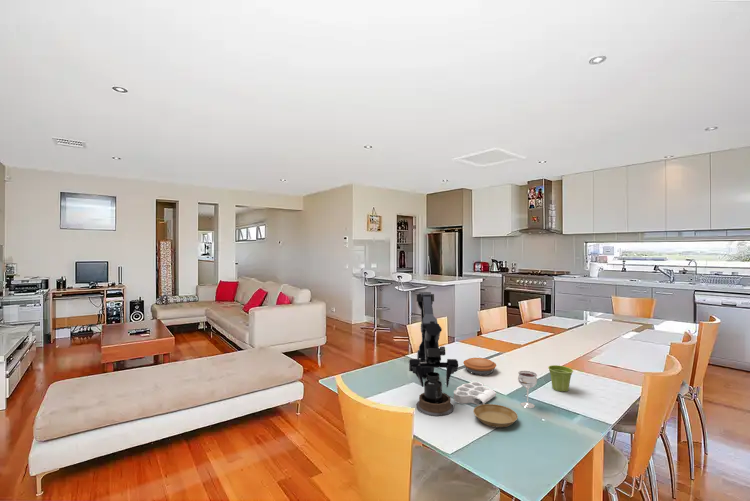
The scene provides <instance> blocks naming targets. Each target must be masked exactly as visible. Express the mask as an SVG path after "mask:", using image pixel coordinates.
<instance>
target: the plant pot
mask: <svg viewBox="0 0 750 501" xmlns="http://www.w3.org/2000/svg"><path fill="white" fill-rule="evenodd" d="M547 367H548V368H547V369H548V371H549V374H550V381H551V388H552V389H553V390H555V391H557V392H569V390H570V383H571V377H572V375H573V373H574V370H573V369H572V368H570V367H567V366H564V365H558V364H557V365H556V364H555V365H554V364H553V365H548V366H547Z"/></svg>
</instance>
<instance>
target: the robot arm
mask: <svg viewBox="0 0 750 501" xmlns="http://www.w3.org/2000/svg"><path fill="white" fill-rule="evenodd" d="M415 302H417V307H418V308H419V310H420V320H421V322H420V333H421V342H420V344H419V346H418V349H417V353H416V358H410V359H409V360H408V361H409V362H408V371H409V372H412V374H414V375H415V376H416V377H417V379H418V380H419V383H420V386H421V387H422V388H424V379H426V377H427V373H429V372H435V368H437V369H438V368H440V369H442V368H446V372H445V386H446V388H448V387H449V383H450V378H451V376H452V375H454V374H455V373H457V372H458V368H459V361H458V360H457V359H456V358H446V359H447V360H446V362H444V361H443V362H442V356H446V347H445V346H440V345H439V341H440V337H441V336H440V335H441V332H442V330H443V328H442V327H441V325H440V323H438V319H437V318H436V317H435V316H434V309H433V302H435V294H434V293H432V292H431V291H419V292H418V293H416V295H415ZM423 378H424V379H423Z"/></svg>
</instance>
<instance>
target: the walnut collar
mask: <svg viewBox="0 0 750 501" xmlns="http://www.w3.org/2000/svg"><path fill="white" fill-rule="evenodd" d="M418 399H419V400H418V401H417V402H416V404H415V406H416V410H417V411H418V412H420V413H422V414H424V415H426V416H431V417H432V416H433V417H443V416H448V415H450V414H452V413H453V412H454V410H455V409H454V404H453V403H452V402H451V396H449V394H447V393H444V392H442V399H443V403H440V404H434V403H428V402H425V401H424V392H423V393H421V394H419V398H418Z"/></svg>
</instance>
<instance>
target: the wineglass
mask: <svg viewBox="0 0 750 501" xmlns="http://www.w3.org/2000/svg"><path fill="white" fill-rule="evenodd" d="M537 377H538V374H537V373H536V372H533V371H530V370H529V371H528V370H520V371H518V377H517V380H518V382H519V384H520V385H521V387H524V388H525V389H526V401H524V402H521V403H520V406H521V407H524V408H527V409H534V408H535V404H534V403H532V402H529V392H530V389H531V388H534V387H535V386H536V385H537V383H538V378H537Z"/></svg>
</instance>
